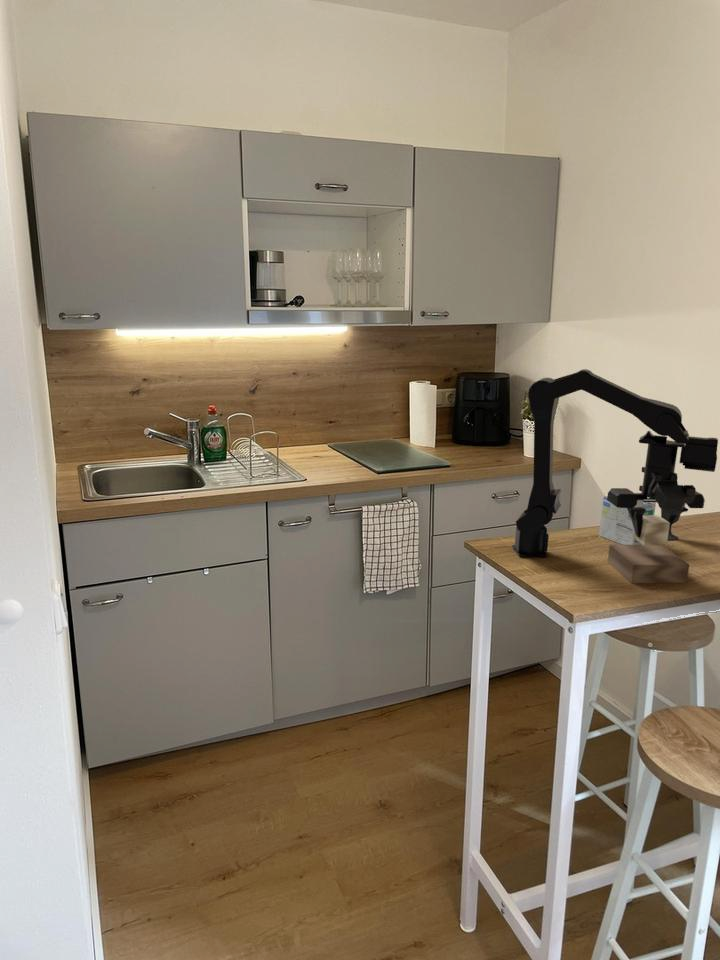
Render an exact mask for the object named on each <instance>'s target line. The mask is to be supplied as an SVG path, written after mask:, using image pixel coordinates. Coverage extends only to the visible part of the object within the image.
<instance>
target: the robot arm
mask: <svg viewBox="0 0 720 960" xmlns="http://www.w3.org/2000/svg"><path fill="white" fill-rule="evenodd" d="M579 391H584V392H586V393H588V394H590V395H592V396H594V397H596V398H597V399H600V400H603V401H604V402H606V403H608V404H610V405H612V406H615V407H616V408H619V409H620V410H623V411H625V412H627V413H629V414H631V415H633V417H635V418H636V419H638V420H639V421H640V422H641V423H643V425H645V426H646V427H647V428H649V429H650V430H647V431H646V433H645V434H643V435H642V436H641V437H639V440H638V443H640V444H646V445H647V449H646V456H645V457H646V458H645V464H644V466H642V467H641V473H644V474H643V480H642V485H639V489H638V491H640V492H634V491H632V490H630V488H623V487H621V488H619V487H617V488H614V487H612V488H611V489H609V491H608V492H607V494H608V496H607V500H608V501H609V502H610V503H612V504H613V505H615V506H616V507H618V508H627V510H628V512H629V514H630V517H631V520H632V523H633V527H634V530H635V533H636V536H637V537H640V535H641V531H642V520H643V514H644V513H645V511H646V509H644V508H643V502H656V504H658V507H659V509H660V510H661V509H662V512H661V511H660V517H662V518H663V519H665V520H666V521H668V522H669V523H670V526H671V525H673V524H672V523H673V521H674V520H675V519H676V517H677V516H678V515H679V514H681V515H682V513H686V512H688V511H689V508H690V509H703V508H705V501H706V499H705V497H704V495H703V494H702V493H701V492H698V491H697V490H696V487H695V486H694V485H693V484H688V485H687V484H684V485H683V484H678V477H679V476H678V473H676V472H675V469H676V464H677V463H676V462H677V456H678V449H679V448H681V449H680V457H679V464H682V466H683V468H684V470H685V469H687V470H694V471H700V472H701V471H703V472H710V473H714V472H715V471H716V466H717V463H718V462H717V461H718V454H717V453H718V445H719V439H718V438H717V437H700V436H699V437H698V436H691V435H690V434H689V431H688V430H687V429H686V428H685V426H684V424H683V423H682V422H683V421H682V420H683V415H682V411H681V410H680V409H679V407H677V406H676V405H674V404H671V403H668V402H665V401H661V400H657V399H652V398H648V397H644V396H641V395H639V394H637V393H636V392H632V391H630V390H629V389H626V388H625V387H623V386H620V385H618V384H616V383H614V382H612V381H610V380H607V379H606V378H603V377H602V376H599V375H597V374H595V373H593V372H592V371H591V370H590V369H586V368H583V369H581V370H578V371H576V372H574V373H573V372H572V374H571V373H570V374H567V375H564V376H560V377H558V378H554V379H553V377H542V378H540V379H538V380H537V381H535V382H533V383H532V384H531V386H530V387H529V389H528V392H527V395H528V397H527V398H528V402H529V408H530V409H529V410H530V411H531V412H530V413H531V415H532V419H533V422H534V424H533V425H534V427H533V477H532V478H533V482H532V488H531V492H530V494H529V499H528V503H527V507H526V509H525V510H523V512H522V513H521V514H520V516H518V518H517V519H516V520H515V525H516V527H515V540H514V544H512V549H513V551H515V553H516V554H517V555H518V556H519V557H520V558H523V557H524V558H525V557H526V558H531V557H535V558H536V557H537V558H538V557H539V558H540V557H541V558H542V557H543V558H545V557H548V553H547V552H548V547H549V546H548V545H549V537H550V536H549V534H548V528H547V527H546V526H545V525H548V524H549V523H550V522H551V521H552V520H553V518H554V516H555V515H556V514H557V512H558V511H559V509H560V508H561V506H562V504H561V502H560V497H561V496H560V495H561V491H562V490H561V488H558V489H555V485H554V483H553V482H554V481H553V468H554V467H553V465H554V464H553V463H554V462H553V459H554V458H553V456H554V420H555V416H556V412H557V410H558V409H557V408H558V405H559V401H560V400H559V399H560V398H562V397H565V396H567V395H569V394H572V393H575V392H576V393H577V392H579ZM651 430H652V431H653V432H655V435H654V434H653V433H652V432H651ZM656 434H657V435H656ZM668 437H669V438H670V439H671V440H668ZM686 505H687V507H688V508H687V507H686ZM670 526H669V528H670ZM671 527H672V526H671Z"/></svg>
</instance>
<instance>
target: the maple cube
mask: <svg viewBox="0 0 720 960" xmlns="http://www.w3.org/2000/svg"><path fill="white" fill-rule="evenodd" d="M669 526H670V523H669V522H668V521H666V520H665V519H663V518H662V517H661V515H655V514H654V515H643V520H642V531H641V535H640V537H637V536H636V533H635V530H634V535H633V538H635V539H636V540H637V541H639V542H640V543H641V544H643V545H663V546H667V545H668V540H667V539H668V533H669Z"/></svg>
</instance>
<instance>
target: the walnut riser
mask: <svg viewBox="0 0 720 960" xmlns="http://www.w3.org/2000/svg"><path fill="white" fill-rule="evenodd" d="M607 563H608V564H610V565H611V566H612V567H613V568H614V569H615V570H616V571H617V572H618V573H620V574H621V575H622V576H623V578H625V579H626V580H627V581H628V582H630V584H667V583H669V584H671V583H674V584H675V583H678V584H681V583H684V584H685V583H687V582H688V576H689V570H690V564H689V562H687V561H685V560H684V559H682V558H681V557H680V556H678V555H677V554H675V552H673V551H671V550H670V549H668V548H667V547H666V546H665V545H622V544H609V547H608V556H607Z"/></svg>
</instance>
